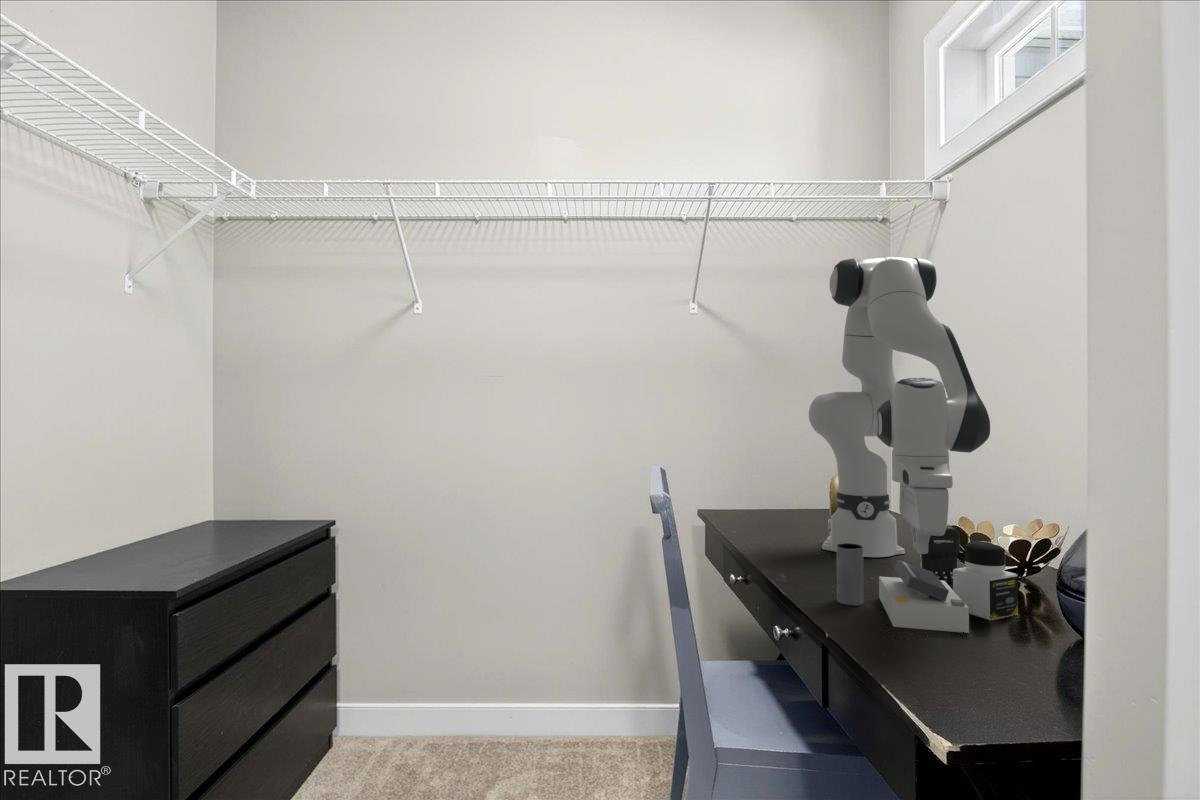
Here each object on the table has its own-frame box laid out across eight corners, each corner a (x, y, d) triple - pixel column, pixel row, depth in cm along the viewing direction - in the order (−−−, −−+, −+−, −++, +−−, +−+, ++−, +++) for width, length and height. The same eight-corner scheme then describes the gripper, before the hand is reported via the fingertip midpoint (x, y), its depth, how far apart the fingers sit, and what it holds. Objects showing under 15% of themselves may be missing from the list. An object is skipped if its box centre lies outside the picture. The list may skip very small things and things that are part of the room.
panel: (879, 597, 121) (879, 572, 121) (944, 602, 118) (944, 576, 118) (893, 626, 105) (893, 597, 105) (968, 632, 102) (968, 602, 102)
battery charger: (925, 583, 130) (924, 526, 130) (918, 578, 134) (918, 523, 134) (962, 584, 129) (962, 527, 129) (955, 579, 133) (954, 524, 133)
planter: (865, 606, 116) (865, 549, 116) (839, 605, 117) (838, 548, 117) (860, 599, 120) (860, 543, 120) (835, 597, 121) (834, 542, 121)
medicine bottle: (990, 621, 108) (990, 549, 108) (952, 608, 114) (951, 541, 114) (1018, 615, 111) (1018, 545, 111) (979, 603, 117) (979, 537, 117)
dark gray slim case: (894, 568, 118) (898, 558, 118) (929, 581, 117) (932, 571, 117) (906, 587, 107) (910, 576, 107) (945, 601, 105) (949, 589, 105)
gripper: (890, 465, 122) (891, 539, 122) (911, 477, 103) (912, 564, 103) (927, 466, 121) (927, 540, 121) (955, 478, 101) (956, 567, 101)
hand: (920, 552), depth 112 cm, fingers closed
